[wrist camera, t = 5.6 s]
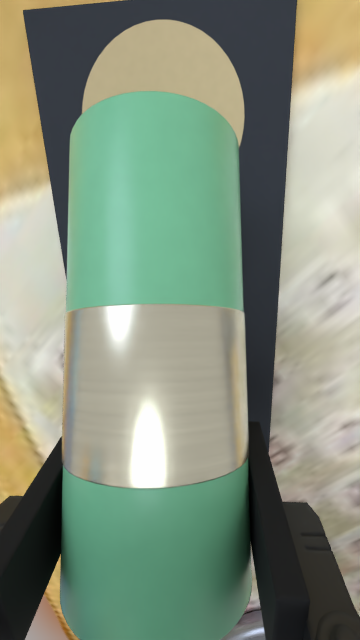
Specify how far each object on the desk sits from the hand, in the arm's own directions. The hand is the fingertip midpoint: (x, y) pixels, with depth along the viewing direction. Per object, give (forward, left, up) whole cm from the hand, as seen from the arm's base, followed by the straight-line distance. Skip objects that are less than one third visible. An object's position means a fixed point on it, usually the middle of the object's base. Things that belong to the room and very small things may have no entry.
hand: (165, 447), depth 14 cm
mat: (+6, 0, -6) cm, 8 cm away
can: (+3, 0, -3) cm, 4 cm away
